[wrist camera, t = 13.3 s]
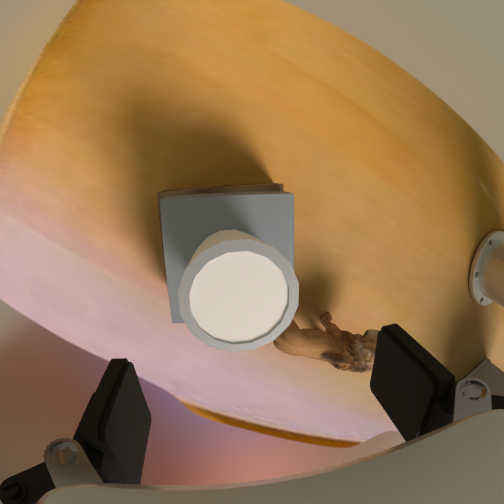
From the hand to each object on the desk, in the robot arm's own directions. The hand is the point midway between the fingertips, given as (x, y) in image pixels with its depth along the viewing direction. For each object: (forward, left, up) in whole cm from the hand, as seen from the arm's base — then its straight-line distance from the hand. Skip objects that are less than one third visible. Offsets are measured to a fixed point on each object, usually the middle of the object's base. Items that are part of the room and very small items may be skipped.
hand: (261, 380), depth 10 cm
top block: (0, -1, -18) cm, 18 cm away
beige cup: (0, 0, -14) cm, 14 cm away
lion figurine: (-8, +10, -22) cm, 25 cm away
